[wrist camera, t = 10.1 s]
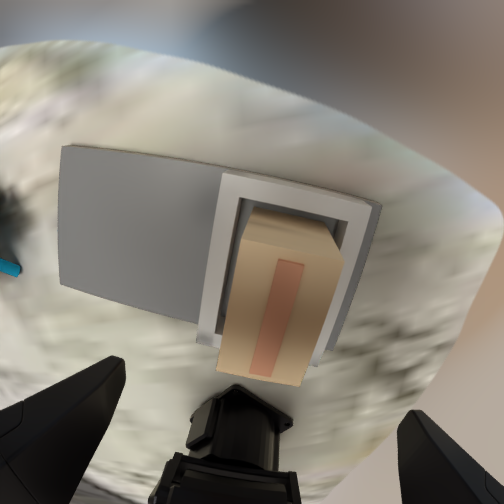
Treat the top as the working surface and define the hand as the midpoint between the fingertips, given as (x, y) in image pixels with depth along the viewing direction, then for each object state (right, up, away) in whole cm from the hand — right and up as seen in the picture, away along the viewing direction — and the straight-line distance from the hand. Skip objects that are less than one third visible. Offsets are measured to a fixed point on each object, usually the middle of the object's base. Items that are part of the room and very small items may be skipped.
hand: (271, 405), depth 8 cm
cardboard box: (+1, +4, +10) cm, 11 cm away
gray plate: (-4, +5, +11) cm, 13 cm away
